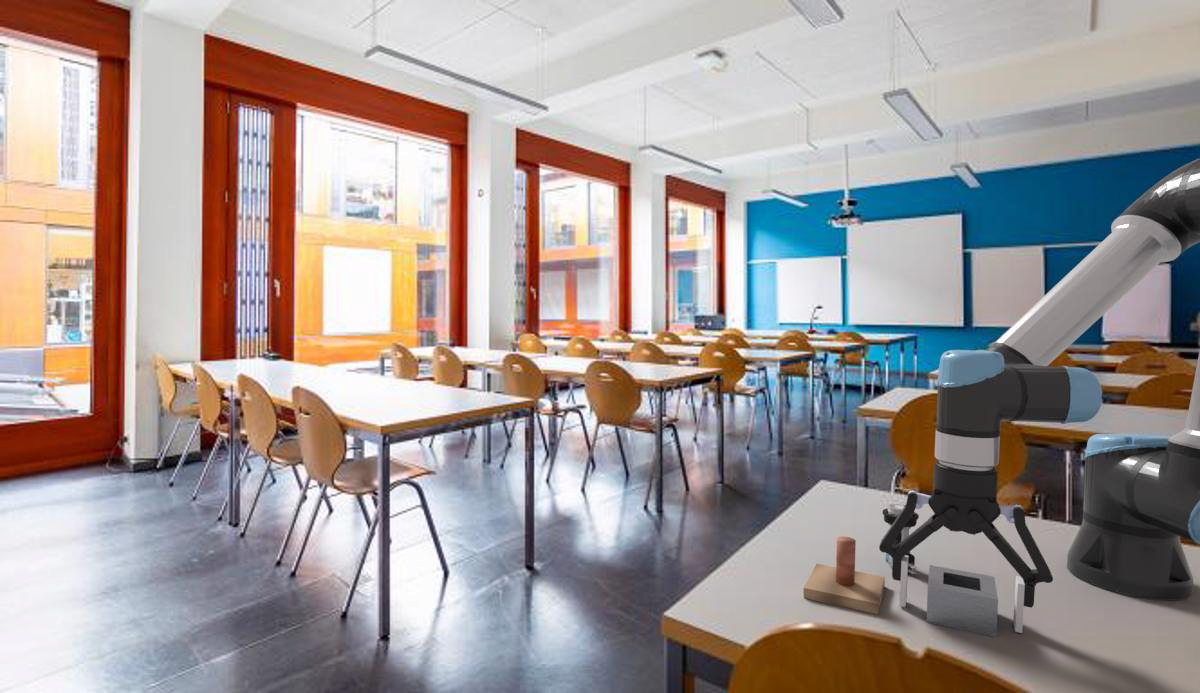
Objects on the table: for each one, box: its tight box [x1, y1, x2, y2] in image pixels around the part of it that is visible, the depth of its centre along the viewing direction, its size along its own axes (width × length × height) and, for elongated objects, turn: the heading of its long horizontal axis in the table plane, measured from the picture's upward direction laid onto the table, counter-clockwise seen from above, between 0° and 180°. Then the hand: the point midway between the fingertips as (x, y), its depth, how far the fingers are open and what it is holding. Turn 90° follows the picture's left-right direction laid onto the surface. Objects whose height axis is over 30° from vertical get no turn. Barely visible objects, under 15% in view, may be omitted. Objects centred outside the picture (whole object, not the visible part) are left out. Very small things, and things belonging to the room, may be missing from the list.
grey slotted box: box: [926, 564, 999, 638], centre depth 86 cm, size 8×8×5 cm
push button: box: [882, 503, 920, 575], centre depth 102 cm, size 7×5×10 cm
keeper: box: [803, 536, 886, 615], centre depth 93 cm, size 10×10×8 cm
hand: (958, 615), depth 86 cm, fingers open, 13 cm apart
